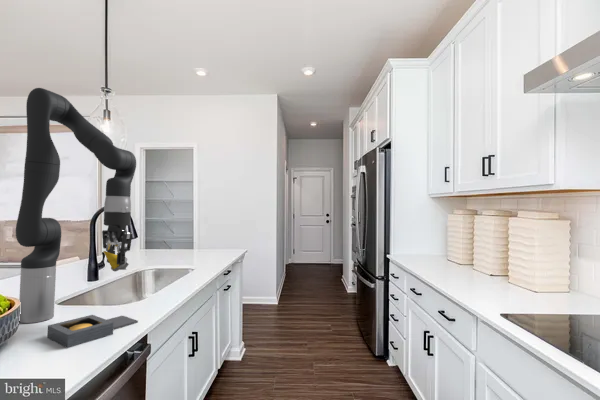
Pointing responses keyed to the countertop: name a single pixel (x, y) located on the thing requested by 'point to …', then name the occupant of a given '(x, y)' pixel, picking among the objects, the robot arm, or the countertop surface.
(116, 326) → the rest mat
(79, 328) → the button
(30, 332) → the countertop surface
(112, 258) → the ridged yellow cone
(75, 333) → the grey open box
